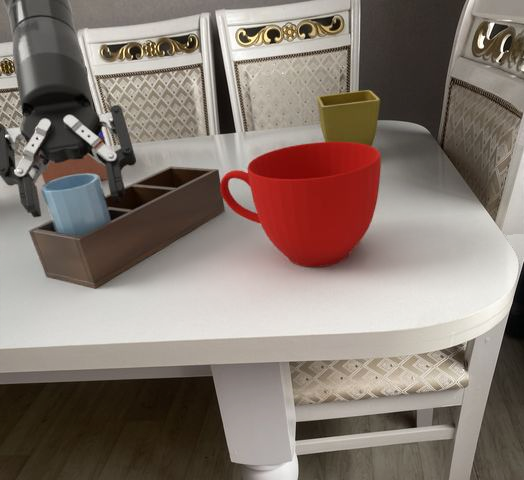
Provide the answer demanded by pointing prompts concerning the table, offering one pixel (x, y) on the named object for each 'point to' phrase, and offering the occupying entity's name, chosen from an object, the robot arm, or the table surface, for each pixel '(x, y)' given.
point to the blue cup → (76, 203)
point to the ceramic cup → (312, 198)
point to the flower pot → (349, 117)
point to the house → (75, 167)
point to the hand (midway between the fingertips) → (76, 206)
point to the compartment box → (132, 226)
